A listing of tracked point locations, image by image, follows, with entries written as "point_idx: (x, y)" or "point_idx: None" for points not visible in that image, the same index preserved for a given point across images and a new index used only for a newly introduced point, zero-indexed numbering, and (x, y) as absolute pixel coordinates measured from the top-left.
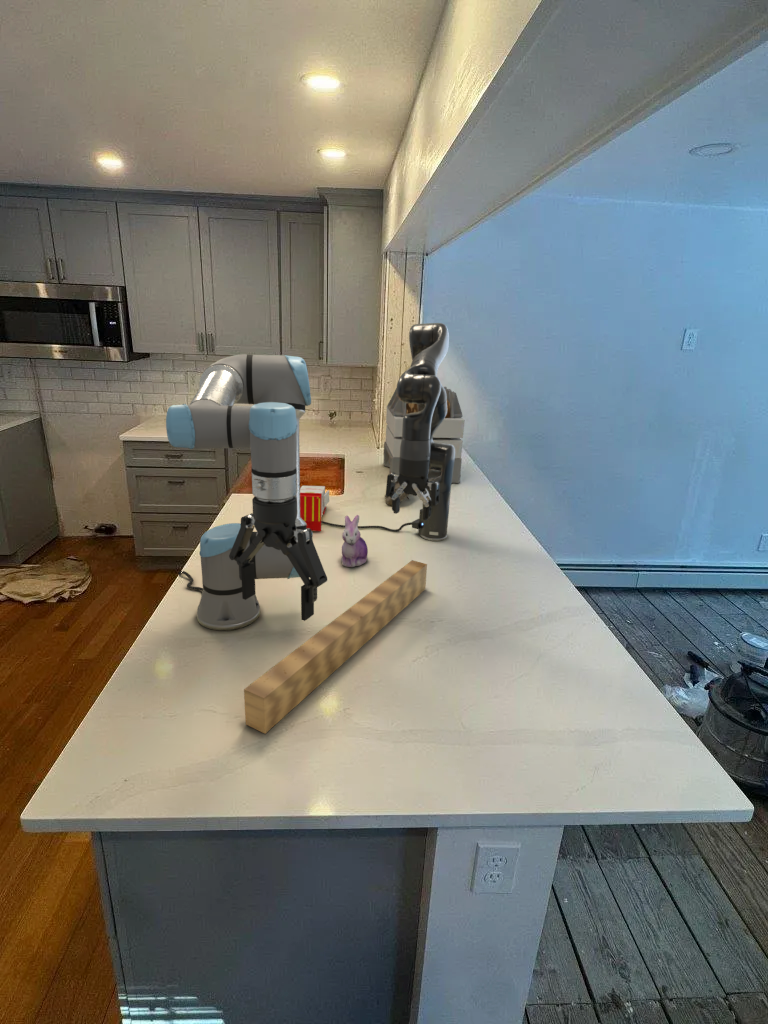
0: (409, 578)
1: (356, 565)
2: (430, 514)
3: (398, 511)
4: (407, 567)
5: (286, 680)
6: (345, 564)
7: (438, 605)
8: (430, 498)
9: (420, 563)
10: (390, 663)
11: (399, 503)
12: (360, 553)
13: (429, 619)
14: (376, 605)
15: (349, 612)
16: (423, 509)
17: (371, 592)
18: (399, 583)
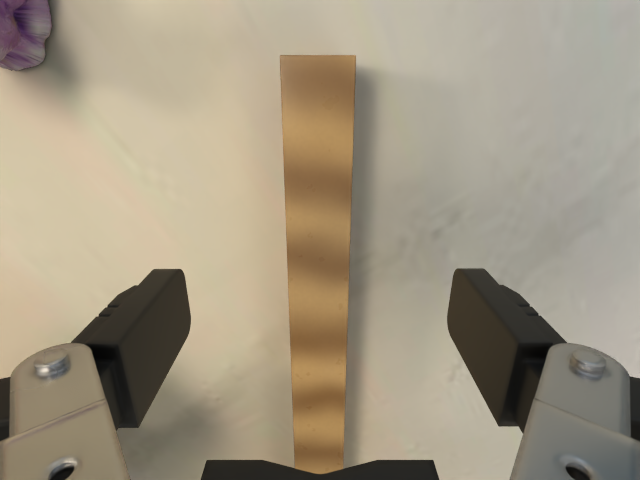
0: (349, 219)
1: (44, 39)
2: (524, 307)
3: (182, 286)
4: (300, 139)
5: None
6: (15, 68)
7: (423, 142)
8: (628, 416)
9: (327, 68)
10: (413, 404)
11: (149, 321)
12: (7, 4)
13: (426, 227)
14: (344, 402)
15: (305, 452)
16: (487, 403)
17: (294, 357)
18: (337, 270)
